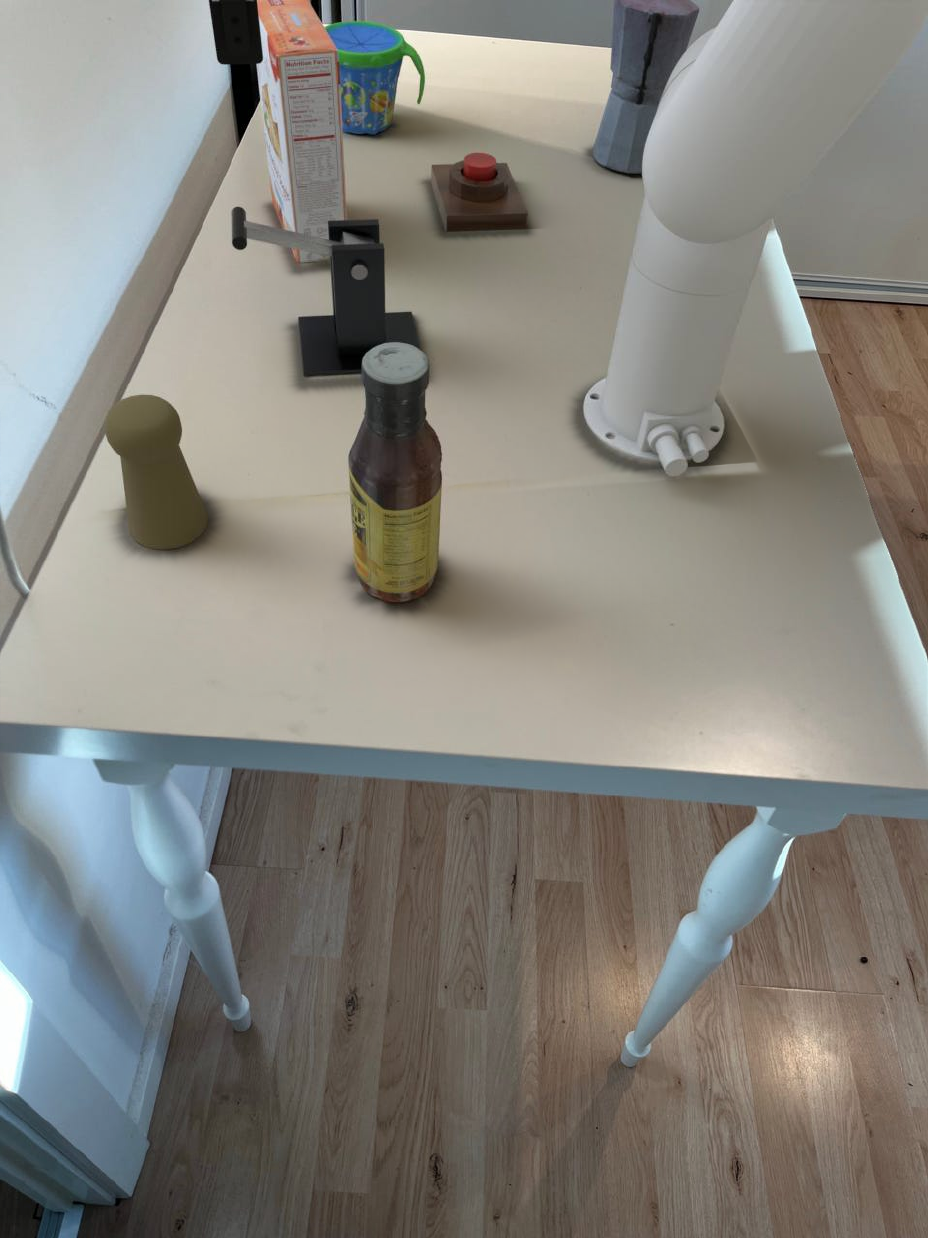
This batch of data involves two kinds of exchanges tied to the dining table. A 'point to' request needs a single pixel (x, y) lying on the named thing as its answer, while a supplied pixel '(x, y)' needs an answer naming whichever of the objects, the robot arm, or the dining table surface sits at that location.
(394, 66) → the snack cup
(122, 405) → the olive pawn
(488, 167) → the button
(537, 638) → the dining table surface
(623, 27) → the moka pot
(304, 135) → the cracker box
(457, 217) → the button block
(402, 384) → the sauce bottle
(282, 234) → the lever
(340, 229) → the bracket
